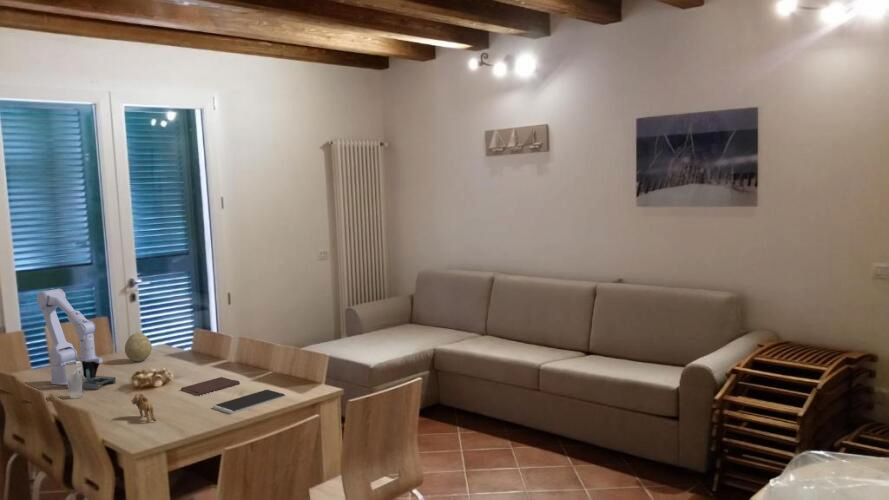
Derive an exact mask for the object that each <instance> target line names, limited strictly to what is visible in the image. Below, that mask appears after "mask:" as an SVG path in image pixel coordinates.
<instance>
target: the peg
mask: <svg viewBox="0 0 889 500" xmlns="http://www.w3.org/2000/svg"><path fill="white" fill-rule="evenodd" d="M86 378H88V380H93V378H91V377H90V371H89V368H88V369H86ZM94 382H95V381H94Z"/></svg>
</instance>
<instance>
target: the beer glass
mask: <svg viewBox="0 0 889 500" xmlns="http://www.w3.org/2000/svg"><path fill="white" fill-rule="evenodd" d="M65 376H66V381H67V384H68V385H67V386H68V399H70V400H74V399H75V400H76V399H80V398H83V397H85V392H84V389H83V379H84V378H85V377H84V371H83V365H82V361H72V362H68V363H65Z"/></svg>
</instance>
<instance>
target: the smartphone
mask: <svg viewBox="0 0 889 500" xmlns="http://www.w3.org/2000/svg"><path fill="white" fill-rule="evenodd" d="M286 397H287V393H284V392H283V393H282V392H280V391H276V390H273V389H264V390H260V391H257V392H254V393H251V394H247V395H242V396H240V397H238V398H233V399H229V400H227V401H224V402H219V403H216V404H213V405H212V409H213V410H216V411H219V412H222V413H226V414H228V415H234V414H237V413H240V412H242V411H247V410H249V409H253V408H255V407H258V405H259V406H261V404H262V405H264V403H265V404H268V403H271V402H274V401H276V400H280V399H283V398H286Z"/></svg>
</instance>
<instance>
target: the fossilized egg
mask: <svg viewBox="0 0 889 500" xmlns="http://www.w3.org/2000/svg"><path fill="white" fill-rule="evenodd" d="M124 353H125V355H126V357H127V358H128V359H129V360H131V361H133V362H137V363H138V362H143V361H145V360H146V359H147V358H148V357H150V355H151V354H152V342H151V340H150V339H149V338H148V336H147V335H146V334H144V333H142V332H135V333H132V334H131V335H130V336H129V337H128V338H127V340H126V342H125V346H124Z"/></svg>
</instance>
